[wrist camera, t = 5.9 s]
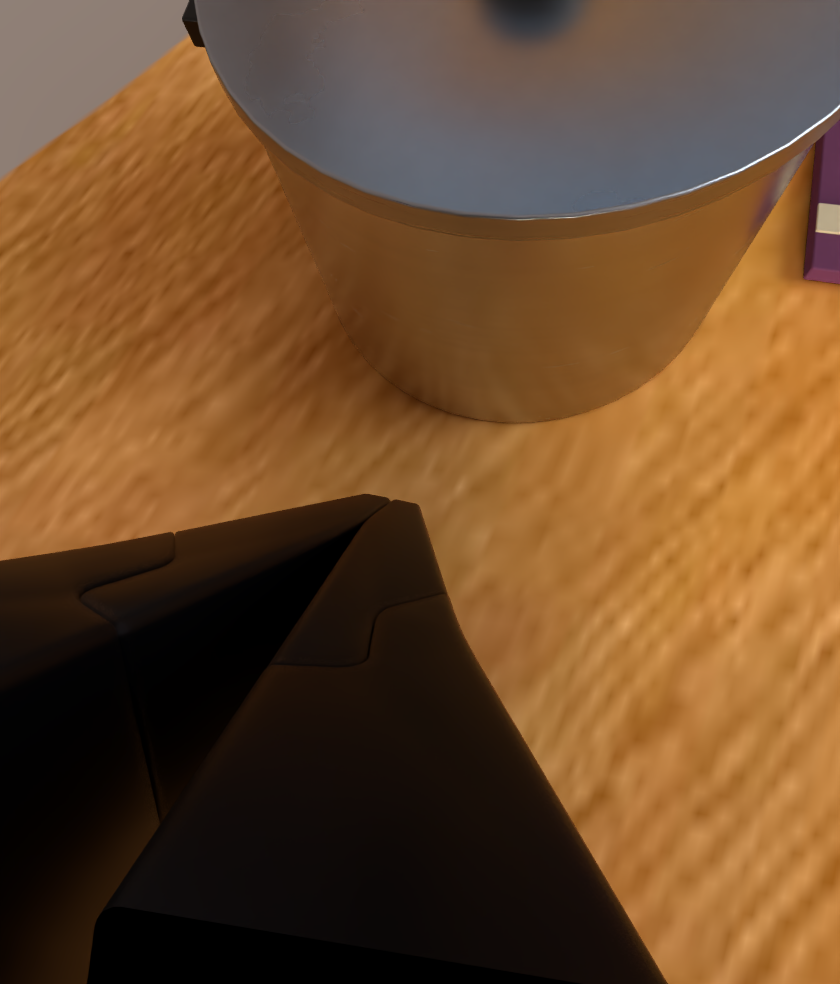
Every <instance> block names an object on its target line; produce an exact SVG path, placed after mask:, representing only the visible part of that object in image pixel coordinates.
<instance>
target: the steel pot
mask: <svg viewBox="0 0 840 984" xmlns="http://www.w3.org/2000/svg"><path fill="white" fill-rule="evenodd" d="M182 20H183V22H184V25H185V27H186V29H187V31H188V33H189V35H190V37H191V40H192V42H193V44H194V45H195V46H196V47H205V48H206V51H207V54H208V56H209V59H210V62H211V64H212V67H213V69H214V71H215V73H216V75H217V77H218V80H219V82H220V84H221V86H222V88H223V89H224V91H225V93H226V95H227V96H228V98H229V100H230V101H231V103H232V105H233V107H234V108H235V110H236V112H237V114H238V115H239V117H240V118H241V119H242V120H243V121H244V123H245V124H246V125H247V126H248V127H249V129H250V130H251V131H252V132H253V133H254V135H255V136H256V137H257V138H258V140H259V141H260V142H261V143H262V144H263V145H264V146H265V149H266V151H267V153H268V156H269V158H270V160H271V163H272V165H273V167H274V169H275V172H276V174H277V176H278V179H279V181H280V183H281V186H282V188H283V190H284V193H285V195H286V197H287V199H288V202H289V204H290V206H291V209H292V211H293V213H294V216H295V218H296V220H297V222H298V225H299V227H300V229H301V232H302V234H303V236H304V239H305V241H306V243H307V246H308V248H309V250H310V252H311V255H312V257H313V259H314V262H315V264H316V266H317V269H318V271H319V273H320V275H321V278H322V280H323V282H324V285H325V287H326V289H327V292H328V294H329V296H330V299H331V301H332V303H333V305H334V308H335V310H336V312H337V315H338V317H339V319H340V322H341V324H342V325H343V327H344V329H345V331H346V332H347V334H348V336H349V338H350V339H351V341H352V343H353V344H354V345H355V347H356V348H357V349H358V350H359V352H360V353H361V354H362V356H363V357H364V358H365V359H366V361H367V362H368V363H369V364H370V365H372V366H373V367H374V368H375V369H376V370H377V371H378V372H379V373H380V374H381V375H382V376H383V377H384V378H386V379H387V380H388V381H390V382H391V383H392V384H394V385H395V386H397V387H398V388H399V389H401V390H402V391H404V392H405V393H407V394H409V395H411V396H413V397H415V398H416V399H418V400H420V401H422V402H424V403H426V404H428V405H431V406H433V407H436V408H439V409H441V410H444V411H447V412H449V413H452V414H457V415H461V416H465V417H469V418H473V419H477V420H486V421H495V422H504V423H519V422H540V421H547V420H555V419H562V418H566V417H569V416H573V415H577V414H581V413H585V412H589V411H591V410H594V409H596V408H599V407H601V406H604V405H606V404H609V403H612V402H614V401H616V400H618V399H619V398H621V397H623V396H625V395H627V394H629V393H630V392H632V391H634V390H636V389H638V388H639V387H641V386H642V385H643V384H645V383H646V382H647V381H649V380H650V379H652V378H653V377H654V376H656V375H657V374H658V373H660V372H661V371H662V370H663V369H664V368H665V367H666V366H667V365H668V364H669V363H670V362H671V361H672V360H673V359H674V358H675V357H676V356H677V355H678V354H679V353H680V352H681V351H682V349H683V348H684V347H685V345H686V344H687V343H688V342H689V340H690V339H691V338H692V337H693V335H694V334H695V332H696V331H697V329H698V327H699V326H700V324H701V323H702V321H703V319H704V318H705V316H706V315H707V313H708V312H709V310H710V308H711V307H712V305H713V304H714V302H715V300H716V299H717V297H718V296H719V294H720V292H721V291H722V289H723V288H724V286H725V284H726V283H727V281H728V280H729V278H730V276H731V275H732V273H733V272H734V270H735V268H736V267H737V265H738V264H739V262H740V260H741V259H742V257H743V256H744V254H745V253H746V251H747V249H748V248H749V246H750V245H751V243H752V241H753V240H754V238H755V237H756V235H757V233H758V232H759V230H760V229H761V227H762V225H763V224H764V222H765V221H766V219H767V217H768V216H769V214H770V213H771V211H772V209H773V208H774V206H775V205H776V203H777V201H778V200H779V198H780V197H781V195H782V193H783V192H784V190H785V189H786V187H787V186H788V184H789V182H790V181H791V179H792V178H793V176H794V174H795V173H796V171H797V170H798V168H799V166H800V165H801V163H802V162H803V160H804V158H805V157H806V155H807V154H808V152H809V150H810V149H811V147H812V146H813V144H814V143H815V142H816V141H817V140H819V139H820V138H821V137H822V136H823V135H824V134H825V133H826V132H827V131H828V130H829V129H830V128H831V127H832V126H833V125H835V124H836V123H837V122H838V121H839V120H840V0H189V2H188V5H187V7H186V10H185V12H184V14H183V17H182Z"/></svg>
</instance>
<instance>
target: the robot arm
mask: <svg viewBox="0 0 840 984" xmlns="http://www.w3.org/2000/svg"><path fill="white" fill-rule="evenodd" d="M0 984H668V983H667V982H666V980H665V978H664V977H663V975H662V973H661V971H660V970H659V968H658V966H657V965H656V963H655V961H654V960H653V958H652V956H651V954H650V953H649V951H648V949H647V948H646V946H645V944H644V943H643V941H642V939H641V937H640V936H639V934H638V932H637V931H636V929H635V927H634V926H633V924H632V922H631V921H630V919H629V917H628V915H627V914H626V912H625V910H624V909H623V907H622V905H621V904H620V902H619V900H618V898H617V897H616V895H615V893H614V892H613V890H612V888H611V887H610V885H609V883H608V881H607V880H606V878H605V876H604V875H603V873H602V871H601V870H600V868H599V866H598V864H597V863H596V861H595V859H594V858H593V856H592V854H591V853H590V851H589V849H588V848H587V846H586V844H585V842H584V841H583V839H582V837H581V836H580V834H579V832H578V831H577V829H576V827H575V825H574V824H573V822H572V820H571V819H570V817H569V815H568V814H567V812H566V810H565V808H564V807H563V805H562V803H561V802H560V800H559V798H558V797H557V795H556V793H555V791H554V790H553V788H552V786H551V785H550V783H549V781H548V780H547V778H546V776H545V775H544V773H543V771H542V769H541V768H540V766H539V764H538V763H537V761H536V759H535V758H534V756H533V754H532V752H531V751H530V749H529V747H528V746H527V744H526V742H525V741H524V739H523V737H522V735H521V734H520V732H519V730H518V729H517V727H516V725H515V724H514V722H513V720H512V718H511V717H510V715H509V713H508V712H507V710H506V708H505V707H504V705H503V703H502V702H501V700H500V698H499V696H498V695H497V693H496V691H495V690H494V688H493V686H492V685H491V683H490V681H489V679H488V678H487V676H486V674H485V673H484V671H483V669H482V668H481V666H480V664H479V662H478V661H477V659H476V657H475V655H474V654H473V652H472V650H471V648H470V646H469V644H468V642H467V640H466V639H465V637H464V635H463V633H462V630H461V628H460V625H459V623H458V620H457V618H456V615H455V613H454V610H453V607H452V604H451V601H450V598H449V596H448V594H447V591H446V587H445V584H444V581H443V578H442V575H441V572H440V569H439V566H438V563H437V559H436V556H435V553H434V550H433V547H432V544H431V541H430V538H429V534H428V531H427V528H426V525H425V522H424V519H423V516H422V513H421V510H420V507H419V505H417V504H415V503H410V502H406V501H401V500H393V501H390V500H389V499H388V498H386V497H381V496H376V495H371V494H361V495H356V496H351V497H346V498H341V499H336V500H332V501H327V502H322V503H317V504H312V505H307V506H302V507H297V508H292V509H287V510H282V511H277V512H272V513H267V514H262V515H257V516H252V517H247V518H242V519H238V520H233V521H228V522H223V523H218V524H213V525H208V526H203V527H198V528H193V529H188V530H183V531H178V532H176V533H175V536H174V534H173V533H172V532H168V533H163V534H158V535H153V536H148V537H143V538H137V539H132V540H127V541H121V542H116V543H110V544H105V545H99V546H93V547H87V548H81V549H74V550H68V551H62V552H56V553H50V554H43V555H36V556H29V557H23V558H16V559H9V560H3V561H0Z"/></svg>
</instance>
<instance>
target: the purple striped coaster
mask: <svg viewBox="0 0 840 984" xmlns="http://www.w3.org/2000/svg"><path fill="white" fill-rule="evenodd" d="M803 278H804V279H806V280H814V281H822V282H830V283H837V284H840V120H839V121H838V122H837V123H836V124H835V125H833V126H832V127H831V128H830V129H829V130H828V131H827V132H826V133H825V134H824V135H823V136H822V137H821V138H820V139H819V140H817V141H816V148H815V159H814V169H813V180H812V191H811V202H810V212H809V223H808V234H807V244H806V255H805V266H804V277H803Z"/></svg>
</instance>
